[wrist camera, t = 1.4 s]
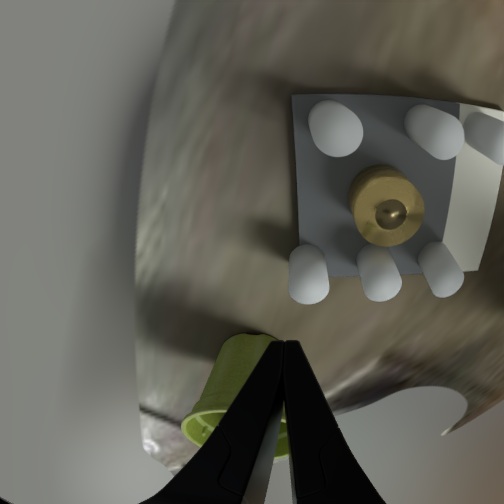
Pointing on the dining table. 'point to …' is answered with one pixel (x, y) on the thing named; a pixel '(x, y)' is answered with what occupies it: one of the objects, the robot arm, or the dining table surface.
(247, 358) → the plant pot
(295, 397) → the robot arm
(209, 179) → the dining table surface
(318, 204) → the board
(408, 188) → the brass knob
